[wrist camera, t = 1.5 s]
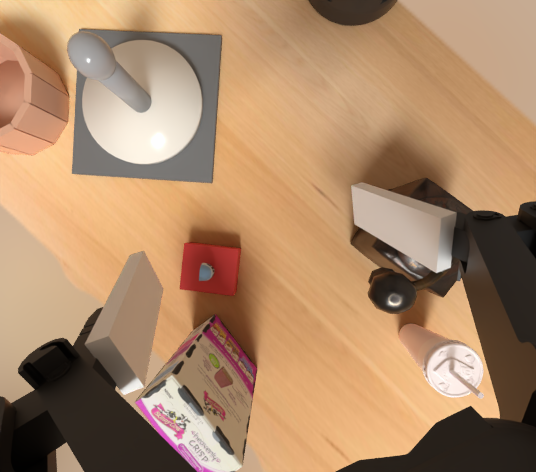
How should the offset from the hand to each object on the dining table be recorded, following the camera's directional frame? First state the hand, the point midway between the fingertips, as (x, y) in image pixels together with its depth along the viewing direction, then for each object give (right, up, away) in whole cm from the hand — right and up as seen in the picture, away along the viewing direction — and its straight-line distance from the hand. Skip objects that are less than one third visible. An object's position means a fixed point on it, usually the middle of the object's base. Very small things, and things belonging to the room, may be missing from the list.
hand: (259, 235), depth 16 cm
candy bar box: (-6, -18, +24) cm, 31 cm away
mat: (-18, +20, +24) cm, 36 cm away
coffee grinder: (+18, -2, +23) cm, 29 cm away
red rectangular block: (-8, -5, +24) cm, 26 cm away
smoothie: (+22, -15, +23) cm, 36 cm away
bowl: (-38, +20, +24) cm, 50 cm away
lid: (-18, +20, +23) cm, 36 cm away
